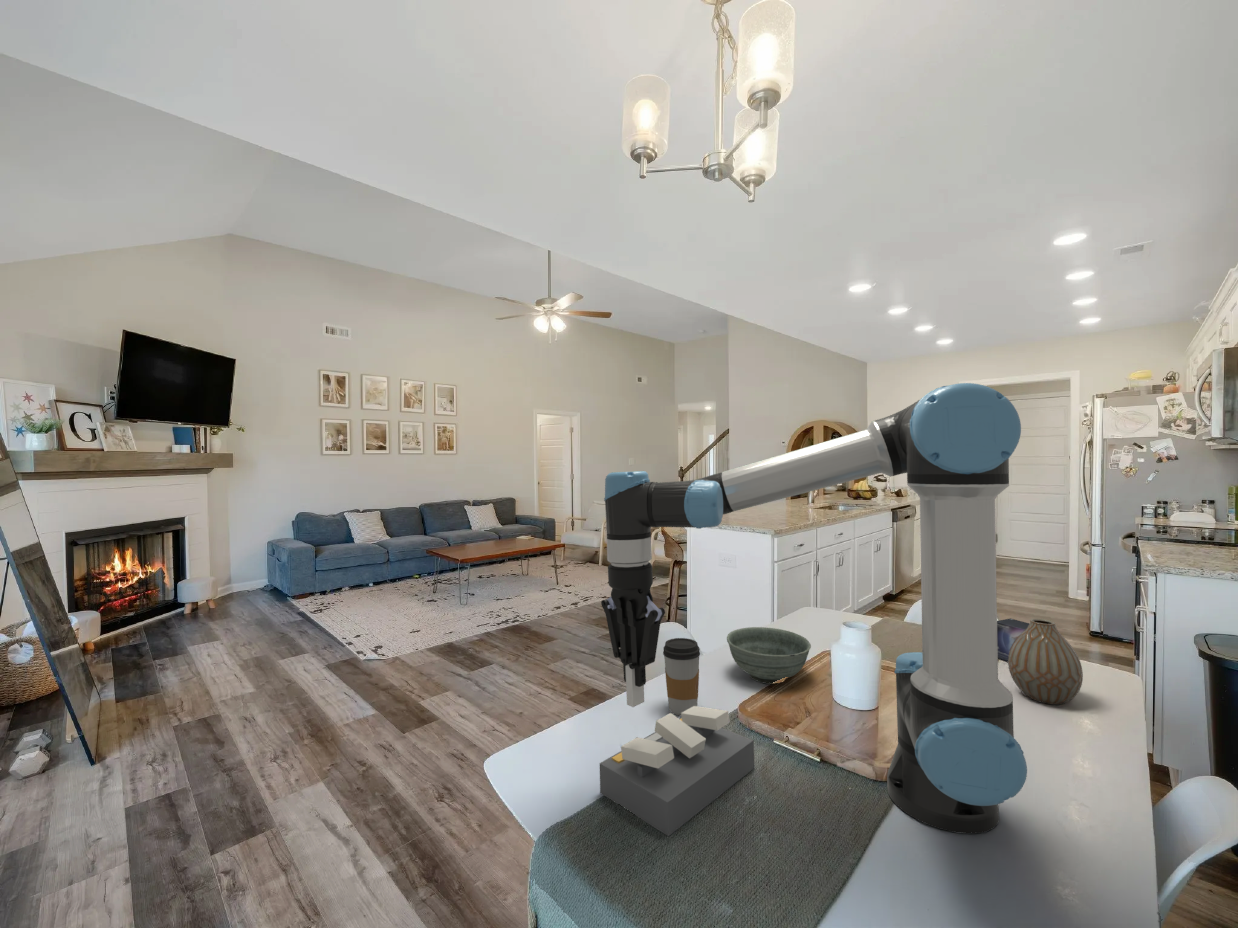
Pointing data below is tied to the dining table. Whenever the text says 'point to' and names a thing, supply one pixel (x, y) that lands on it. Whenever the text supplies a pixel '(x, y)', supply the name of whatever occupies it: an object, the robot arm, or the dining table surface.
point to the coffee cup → (681, 673)
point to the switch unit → (678, 779)
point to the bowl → (768, 652)
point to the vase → (1045, 664)
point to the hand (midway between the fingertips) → (635, 702)
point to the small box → (1008, 635)
